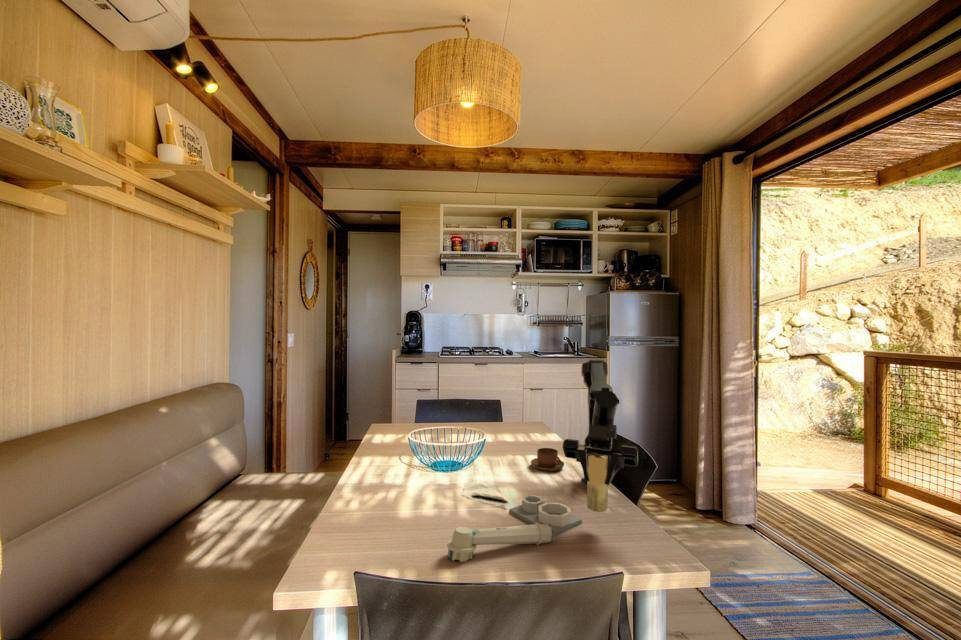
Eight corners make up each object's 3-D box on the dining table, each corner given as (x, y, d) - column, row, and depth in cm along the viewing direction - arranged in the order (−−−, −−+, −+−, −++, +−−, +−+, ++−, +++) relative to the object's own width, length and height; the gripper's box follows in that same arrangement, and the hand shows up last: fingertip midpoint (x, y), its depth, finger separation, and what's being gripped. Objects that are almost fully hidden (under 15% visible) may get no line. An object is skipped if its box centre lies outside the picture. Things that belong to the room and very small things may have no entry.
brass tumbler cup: (595, 501, 112) (595, 451, 112) (611, 508, 108) (612, 456, 108) (583, 506, 108) (583, 455, 108) (599, 513, 105) (600, 460, 105)
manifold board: (537, 502, 124) (537, 490, 124) (581, 523, 112) (581, 509, 112) (509, 512, 117) (509, 499, 117) (553, 535, 105) (553, 521, 105)
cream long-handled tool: (556, 529, 100) (454, 531, 92) (553, 558, 100) (449, 563, 91) (545, 519, 105) (447, 520, 97) (542, 547, 105) (443, 550, 96)
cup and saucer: (569, 466, 157) (569, 449, 157) (556, 475, 147) (556, 457, 147) (539, 460, 163) (539, 444, 163) (525, 469, 153) (525, 452, 153)
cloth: (453, 481, 142) (453, 474, 142) (493, 478, 145) (493, 472, 145) (469, 515, 117) (469, 507, 117) (517, 511, 120) (517, 503, 120)
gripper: (564, 408, 115) (554, 462, 105) (637, 415, 108) (635, 473, 98) (569, 431, 123) (561, 483, 112) (638, 438, 115) (636, 494, 105)
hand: (596, 483), depth 107 cm, fingers closed on brass tumbler cup, 5 cm apart
